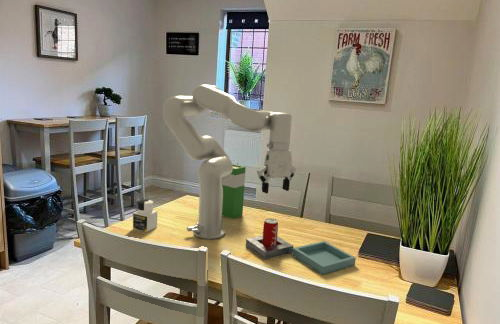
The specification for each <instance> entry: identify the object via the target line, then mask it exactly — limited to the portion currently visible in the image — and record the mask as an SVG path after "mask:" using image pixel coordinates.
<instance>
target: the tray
mask: <svg viewBox="0 0 500 324" xmlns="http://www.w3.org/2000/svg"><path fill="white" fill-rule="evenodd" d="M291 256H293V258H295V259H296V260H298V261H300V262H302V263H303V264H304V265H306V266H307V267H308V268H311V269H312V270H313V271H315V272H316V273H318V274H319V275H321V276H323V275H327V274H330V273H334V272H337V271H341V270H344V269H347V268H351V267H354V266H356V259H357V258H356V257H355V256H353V255H352V254H350V253H347V252H346V251H344V250H343V249H340V248H338V247H337V246H335V245H333V244H331V243H329V242H328V241H325V240H323V241H317V242H313V243H310V244H305V245H302V246H301V245H300V246H296V247H293V253H292V254H291Z"/></svg>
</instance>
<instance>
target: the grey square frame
mask: <svg viewBox="0 0 500 324" xmlns="http://www.w3.org/2000/svg"><path fill="white" fill-rule="evenodd" d="M262 240H263V235H259V236H253V237H248V238H245V246H246V247H247V248H248V249H249V250H250V251H252V252H253V253H255V254H256V255H257V256H259V257H260V258H261V259H263V260H264V261H266V260H271V259H273V258H274V259H275V258H280V257H283V256H287V255H292V253H293V248H294V245H293V244H291V243H289V242H288V241H287V240H285V239H283V238H281V237H280V236H278V235H277V245H276V246H273V247H268V248H267V247H265V246H264V245H262Z"/></svg>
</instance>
